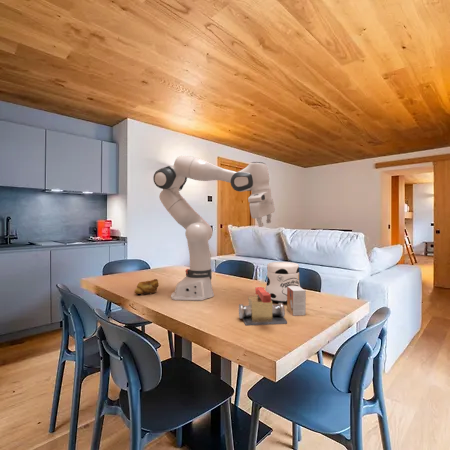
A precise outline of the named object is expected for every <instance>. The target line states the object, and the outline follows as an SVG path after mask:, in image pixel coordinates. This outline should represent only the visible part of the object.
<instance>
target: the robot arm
mask: <svg viewBox="0 0 450 450" xmlns="http://www.w3.org/2000/svg"><path fill="white" fill-rule="evenodd" d="M269 173H270V172H269V168H268V165H267V164H266V163H265V162H261V161H252V162H250V163H248V165H246V167H244V168H242V169H240V170H239V171H235V170H232V169H227V168H223V167H221V166H218V165H216V164H213V163H212V162H209V161H208V160H205V159H203V158H199V157H195V156H191V155H180V156H177V157H176V158H175V160H174V164H173V165H172V166H170V165H167V166H165V167H162V168H159V169H157V170H156V171H155V172H154V174H153V184H154V185H155V186H156V187H157V188H158V189H162V190H161V192H160V193H159V200H160V203H161V204H162V205H163V207H164V208H165V210H166V211H167V213H169V214H170V216H171V217H172V218H173V219H174V221H176V223H177V224H178V225H179V226H181V227H183V229H185V238H186V241H187V242H186V243H187V248H188V252H189V253H188V254H189V268H186V269H185V270H184V271H185V277H184V278H183V279H181V280H180V281H179V282H178V283H177V284H176V286H175V289H174V291H173V292H172V293H171V295H170V298H171V299H172V300H173V301H175V300H176V301H204V300H206V299H210V298H212V297H214V296H215V294H214V291H213V285H212V277H213V275H212V273H213V272H212V266H211V265H212V264H211V261H212V260H211V251H210V247H209V246H210V245H209V241H210V239H211V238H212V236H213V231H214V230H213V228H212V226H211V225H210V224H209V223H208V222H207V221H206V220H205V219H204V218H203V217H202V216H201V215H200V214H199V213H197V212H196V211H197V210H195V209H194V208H193V207H192V206H191V205H190V204H189V203H188V201H187V200H186V199H185V198H184V197H183V196H182V194H181V193H180V191H182V190H183V188H184V186H185V184H186V182H187V180H188V179H190V180H194V181H200V182H208V181H222V182H226V183H230V186H231V187H232V189H233V190H234V191H236V192H239V193H241V192H242V193H243V192H251V194H250V196H248V198H247V200H248V203H249V211H250V216H251V219H253V220H254V219H256V220H255V221H256V222H257V225H258V227H259V228H263V227H264V223H263V221H262V219H263V217H266V224H271V222H272V220H271V219H272V214H274V213H275V210H276V209H275V204H274V199H273V198H272V192H271V186H270V176H269V175H270V174H269Z"/></svg>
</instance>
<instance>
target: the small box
mask: <svg viewBox="0 0 450 450" xmlns="http://www.w3.org/2000/svg"><path fill="white" fill-rule="evenodd" d="M306 291H307V290H306V289H303V288H302V287H301V286H300V287H299V286H287V303H286V309H287V311H288V312H289V313H290V315H292V316H306V315H307V314H306V313H307V310H306V309H307V308H306V307H307V306H306V305H307V304H306V303H307V302H306V298H307V293H306Z"/></svg>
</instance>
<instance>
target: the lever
mask: <svg viewBox="0 0 450 450" xmlns="http://www.w3.org/2000/svg"><path fill="white" fill-rule="evenodd" d="M254 291H255V294H256V295H257V294H258V295H259V297H260V298H261V300H262V302H263V303H269V302H271V301H272V300H271V295H270V294H269V293H268V292H266V290H265V287H263V286H257V287H255V290H254Z"/></svg>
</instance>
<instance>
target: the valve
mask: <svg viewBox="0 0 450 450" xmlns="http://www.w3.org/2000/svg"><path fill="white" fill-rule="evenodd" d="M285 312H286V310H285V305H284V303H281V302H277V304H273V301H272V300H271V302H269V303H263V302H262V300H261V298H260V297H259V295H258V294H256V296H255V295H253V296H248V305H244V304H243V303H241V304H238V317H239V319H240V320H242V321H243V323H244V325H245V326H261V325H262V326H265V325H284V324H285V325H286V324H287V323H288V320H287V319H286V318H285V316H286V313H285Z"/></svg>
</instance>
